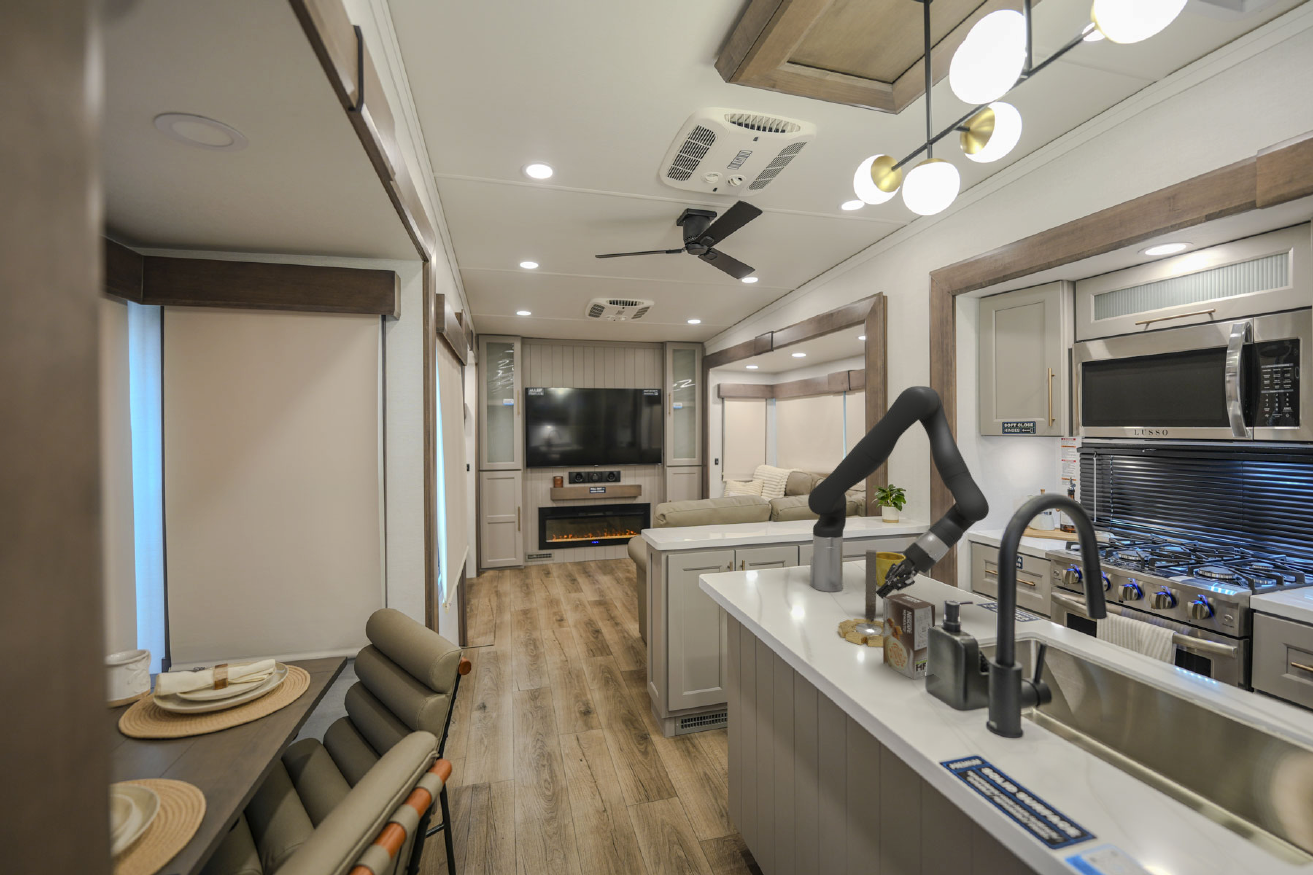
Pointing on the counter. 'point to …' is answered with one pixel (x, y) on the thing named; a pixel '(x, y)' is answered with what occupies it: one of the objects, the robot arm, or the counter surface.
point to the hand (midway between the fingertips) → (879, 595)
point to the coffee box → (906, 633)
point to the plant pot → (886, 564)
